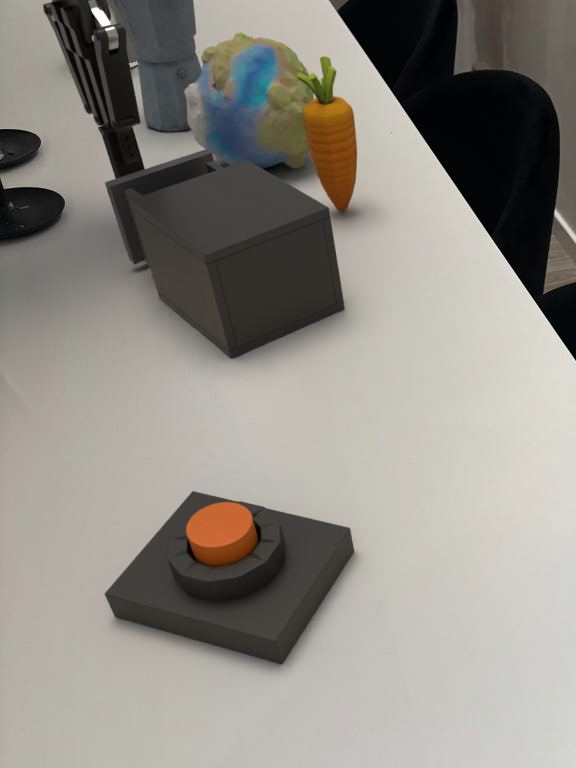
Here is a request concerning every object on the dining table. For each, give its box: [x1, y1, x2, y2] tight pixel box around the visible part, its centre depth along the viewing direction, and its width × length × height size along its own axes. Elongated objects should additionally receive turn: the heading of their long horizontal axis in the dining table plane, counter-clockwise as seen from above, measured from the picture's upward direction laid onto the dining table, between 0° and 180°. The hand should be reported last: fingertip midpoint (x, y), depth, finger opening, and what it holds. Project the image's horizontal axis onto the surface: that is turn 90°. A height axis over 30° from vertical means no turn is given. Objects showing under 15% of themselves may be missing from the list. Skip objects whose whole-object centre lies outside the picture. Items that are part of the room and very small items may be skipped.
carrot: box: [297, 55, 358, 213], centre depth 96 cm, size 5×5×15 cm
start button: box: [186, 502, 258, 567], centre depth 59 cm, size 4×4×2 cm
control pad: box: [104, 490, 355, 665], centre depth 61 cm, size 12×10×4 cm
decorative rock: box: [184, 31, 315, 170], centre depth 107 cm, size 14×16×15 cm
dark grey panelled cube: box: [130, 160, 346, 359], centre depth 85 cm, size 14×12×10 cm
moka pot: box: [114, 0, 202, 132], centre depth 115 cm, size 10×15×20 cm, turn 57°
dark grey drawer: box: [104, 148, 224, 267], centre depth 90 cm, size 17×10×8 cm, turn 40°
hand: (135, 190), depth 99 cm, fingers closed
